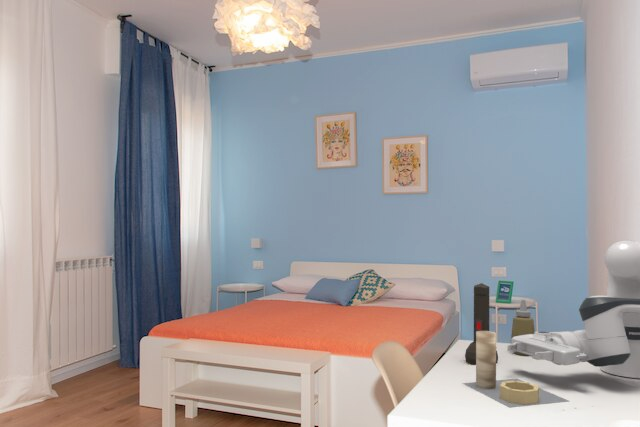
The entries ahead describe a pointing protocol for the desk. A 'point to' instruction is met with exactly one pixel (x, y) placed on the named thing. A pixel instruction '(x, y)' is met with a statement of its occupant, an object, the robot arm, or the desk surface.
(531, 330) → the squeeze bottle
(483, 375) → the ash peg
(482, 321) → the flashlight
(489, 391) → the socket board
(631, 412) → the desk surface
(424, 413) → the desk surface
